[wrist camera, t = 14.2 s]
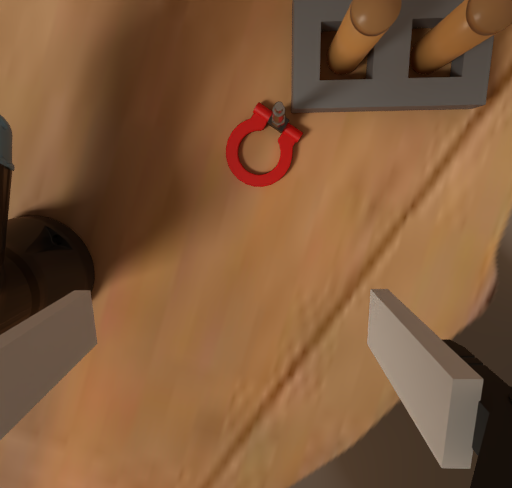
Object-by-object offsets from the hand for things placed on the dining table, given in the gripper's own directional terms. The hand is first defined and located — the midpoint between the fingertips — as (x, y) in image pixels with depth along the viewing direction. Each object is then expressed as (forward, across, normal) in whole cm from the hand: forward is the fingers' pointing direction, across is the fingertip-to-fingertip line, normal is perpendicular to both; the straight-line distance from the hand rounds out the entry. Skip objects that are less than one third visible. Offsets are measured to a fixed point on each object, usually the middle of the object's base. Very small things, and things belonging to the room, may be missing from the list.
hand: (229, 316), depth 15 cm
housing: (+29, +16, +20) cm, 38 cm away
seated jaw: (+29, +21, +20) cm, 41 cm away
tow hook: (+29, +1, +10) cm, 31 cm away
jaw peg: (+29, +11, +20) cm, 37 cm away
